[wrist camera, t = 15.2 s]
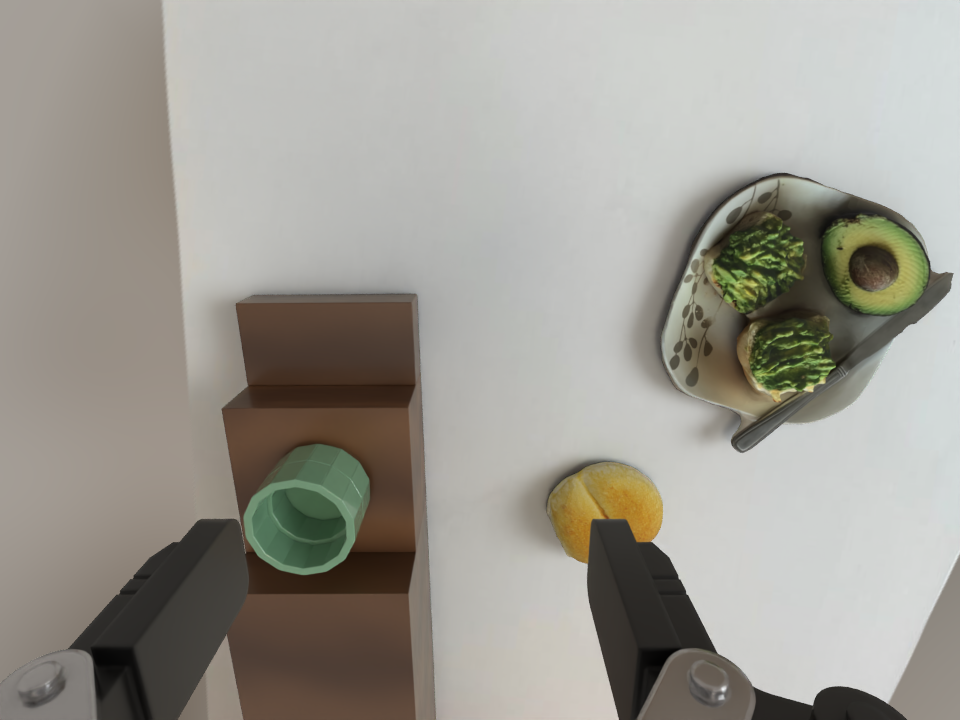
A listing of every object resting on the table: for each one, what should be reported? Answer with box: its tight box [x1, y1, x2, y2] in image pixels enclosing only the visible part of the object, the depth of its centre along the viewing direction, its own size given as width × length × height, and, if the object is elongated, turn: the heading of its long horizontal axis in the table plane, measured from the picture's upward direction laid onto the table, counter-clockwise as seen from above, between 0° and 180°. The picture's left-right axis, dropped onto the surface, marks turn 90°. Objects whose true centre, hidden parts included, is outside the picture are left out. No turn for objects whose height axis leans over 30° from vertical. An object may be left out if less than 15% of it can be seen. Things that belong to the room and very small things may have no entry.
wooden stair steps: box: [222, 294, 436, 720], centre depth 43 cm, size 61×12×11 cm, turn 0°
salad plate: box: [661, 173, 954, 453], centre depth 37 cm, size 19×18×5 cm
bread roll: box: [547, 462, 663, 564], centre depth 42 cm, size 8×9×4 cm
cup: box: [243, 444, 370, 575], centre depth 33 cm, size 6×6×5 cm
